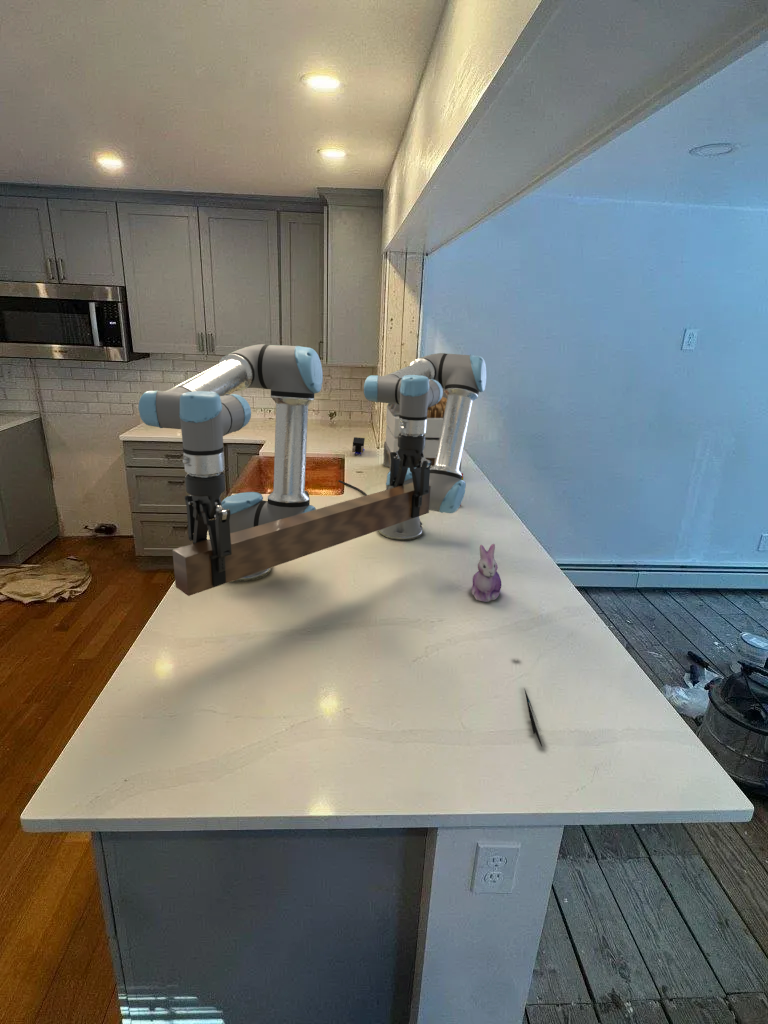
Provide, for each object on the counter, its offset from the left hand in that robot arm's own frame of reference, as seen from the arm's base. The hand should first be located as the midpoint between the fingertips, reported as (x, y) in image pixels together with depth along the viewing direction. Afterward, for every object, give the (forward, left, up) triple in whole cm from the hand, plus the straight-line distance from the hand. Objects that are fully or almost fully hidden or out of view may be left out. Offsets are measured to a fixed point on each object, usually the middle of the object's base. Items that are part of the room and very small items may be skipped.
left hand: (211, 579), depth 119 cm
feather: (+16, +65, -20) cm, 70 cm away
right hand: (-42, +46, 0) cm, 62 cm away
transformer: (-153, +67, -20) cm, 168 cm away
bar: (-21, +23, -1) cm, 31 cm away
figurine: (-30, +68, -20) cm, 77 cm away
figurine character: (-190, +39, -20) cm, 195 cm away
